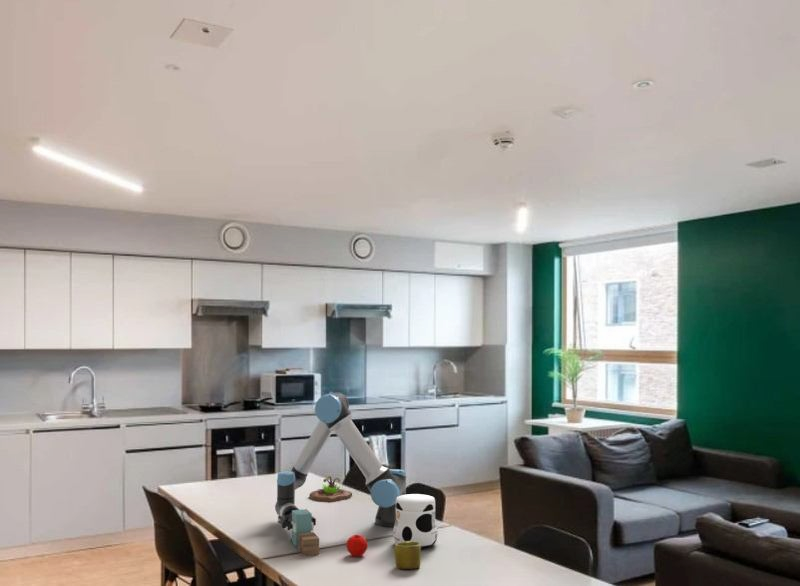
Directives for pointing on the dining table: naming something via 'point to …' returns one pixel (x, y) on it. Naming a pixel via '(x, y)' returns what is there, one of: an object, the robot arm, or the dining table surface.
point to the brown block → (308, 543)
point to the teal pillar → (301, 523)
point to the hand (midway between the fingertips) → (304, 528)
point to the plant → (330, 492)
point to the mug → (407, 555)
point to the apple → (356, 545)
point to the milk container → (415, 519)
